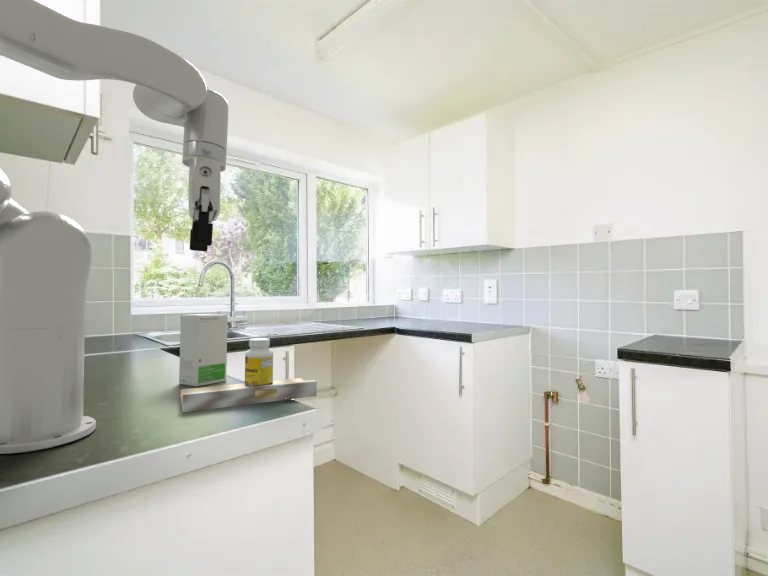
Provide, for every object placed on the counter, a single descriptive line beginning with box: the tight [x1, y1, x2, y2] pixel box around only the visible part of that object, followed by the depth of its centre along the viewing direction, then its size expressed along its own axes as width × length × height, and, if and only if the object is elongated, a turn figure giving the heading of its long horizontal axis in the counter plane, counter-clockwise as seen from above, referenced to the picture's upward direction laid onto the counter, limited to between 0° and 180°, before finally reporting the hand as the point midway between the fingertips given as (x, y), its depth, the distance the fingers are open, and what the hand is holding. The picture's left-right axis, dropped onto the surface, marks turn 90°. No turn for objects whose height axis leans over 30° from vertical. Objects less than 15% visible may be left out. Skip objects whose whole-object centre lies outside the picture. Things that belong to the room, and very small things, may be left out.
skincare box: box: [178, 313, 229, 388], centre depth 91 cm, size 8×7×16 cm
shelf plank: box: [179, 377, 318, 413], centre depth 79 cm, size 24×11×3 cm, turn 119°
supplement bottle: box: [244, 337, 274, 387], centre depth 80 cm, size 5×5×10 cm
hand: (200, 247), depth 75 cm, fingers open, 9 cm apart
